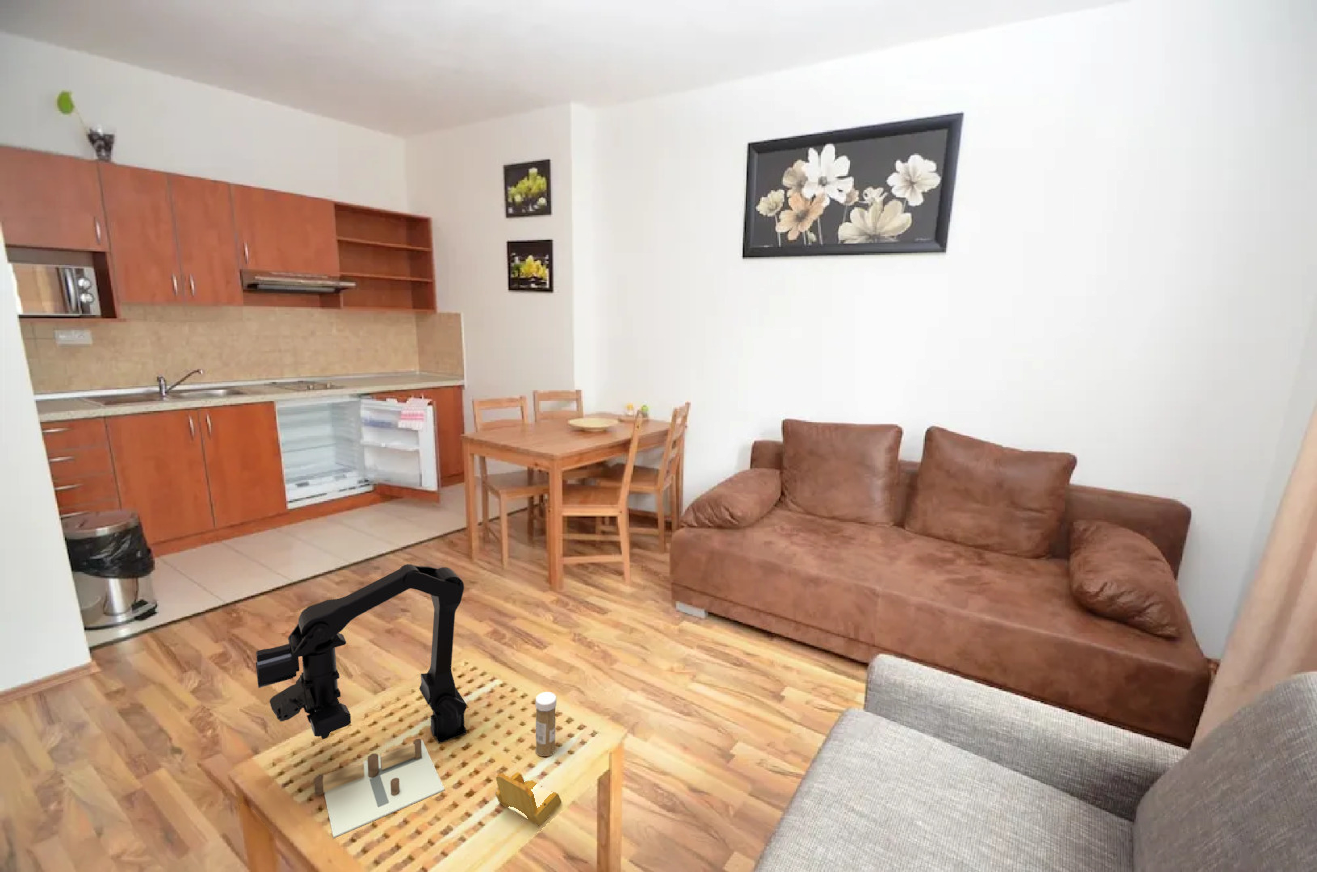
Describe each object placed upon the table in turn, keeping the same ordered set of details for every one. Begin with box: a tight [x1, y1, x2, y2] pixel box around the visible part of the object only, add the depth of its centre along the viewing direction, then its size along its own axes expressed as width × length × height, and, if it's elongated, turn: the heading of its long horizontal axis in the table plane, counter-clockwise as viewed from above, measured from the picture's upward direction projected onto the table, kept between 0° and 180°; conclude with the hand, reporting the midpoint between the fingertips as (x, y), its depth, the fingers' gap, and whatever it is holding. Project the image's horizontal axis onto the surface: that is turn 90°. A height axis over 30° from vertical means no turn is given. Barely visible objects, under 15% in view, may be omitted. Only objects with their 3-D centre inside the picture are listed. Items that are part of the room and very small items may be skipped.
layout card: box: [323, 739, 445, 839], centre depth 117 cm, size 20×17×1 cm
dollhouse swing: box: [495, 771, 562, 827], centre depth 113 cm, size 10×10×9 cm
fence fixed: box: [366, 738, 422, 796], centre depth 119 cm, size 11×9×4 cm
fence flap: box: [313, 760, 364, 796], centre depth 115 cm, size 9×2×3 cm, turn 127°
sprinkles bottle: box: [535, 691, 557, 757], centre depth 128 cm, size 5×5×14 cm
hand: (324, 737), depth 117 cm, fingers closed
